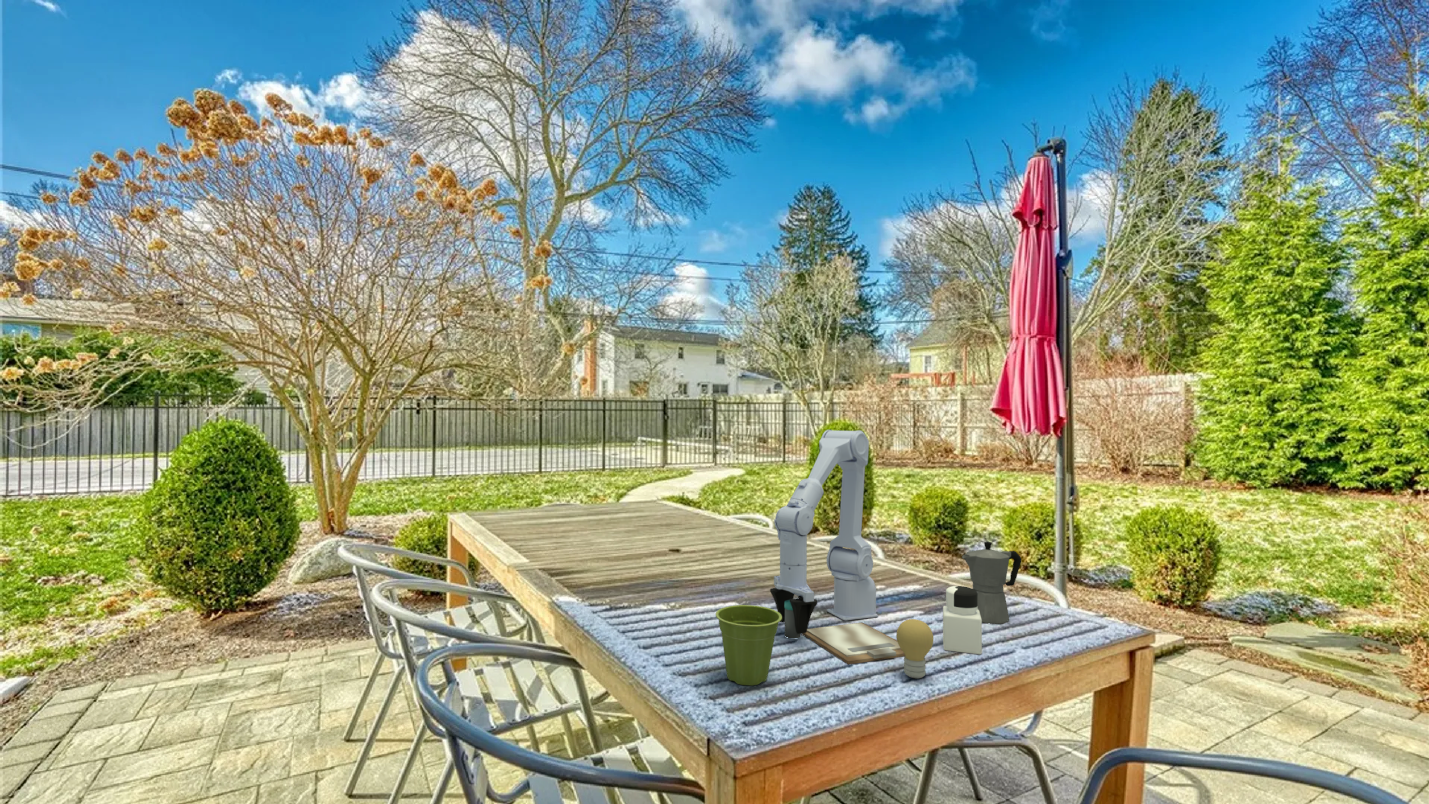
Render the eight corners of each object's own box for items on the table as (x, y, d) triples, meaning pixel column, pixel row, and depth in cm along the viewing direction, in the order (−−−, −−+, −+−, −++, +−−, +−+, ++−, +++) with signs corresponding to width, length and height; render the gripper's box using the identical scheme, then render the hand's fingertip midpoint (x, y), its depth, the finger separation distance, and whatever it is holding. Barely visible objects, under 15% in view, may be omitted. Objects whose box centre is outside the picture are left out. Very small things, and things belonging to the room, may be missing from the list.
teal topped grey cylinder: (796, 632, 136) (796, 599, 136) (804, 638, 132) (804, 603, 132) (781, 634, 134) (781, 600, 135) (789, 639, 131) (789, 605, 131)
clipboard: (862, 625, 141) (862, 619, 141) (919, 655, 123) (919, 648, 123) (799, 632, 136) (799, 626, 136) (849, 665, 117) (849, 658, 117)
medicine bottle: (979, 643, 130) (979, 585, 131) (981, 655, 124) (981, 594, 124) (942, 639, 133) (942, 582, 133) (943, 650, 126) (943, 590, 126)
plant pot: (732, 697, 103) (732, 628, 104) (704, 670, 114) (705, 608, 114) (793, 686, 108) (794, 620, 108) (761, 661, 119) (762, 602, 119)
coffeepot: (975, 626, 142) (974, 546, 142) (951, 613, 151) (951, 538, 151) (1034, 622, 145) (1034, 544, 145) (1007, 610, 154) (1007, 537, 154)
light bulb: (928, 686, 108) (928, 628, 109) (892, 677, 112) (892, 621, 112) (937, 673, 114) (937, 618, 114) (901, 666, 117) (901, 612, 118)
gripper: (761, 557, 139) (761, 618, 139) (792, 572, 126) (792, 640, 125) (790, 555, 142) (789, 615, 141) (823, 569, 128) (822, 636, 128)
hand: (792, 627), depth 133 cm, fingers open, 7 cm apart
